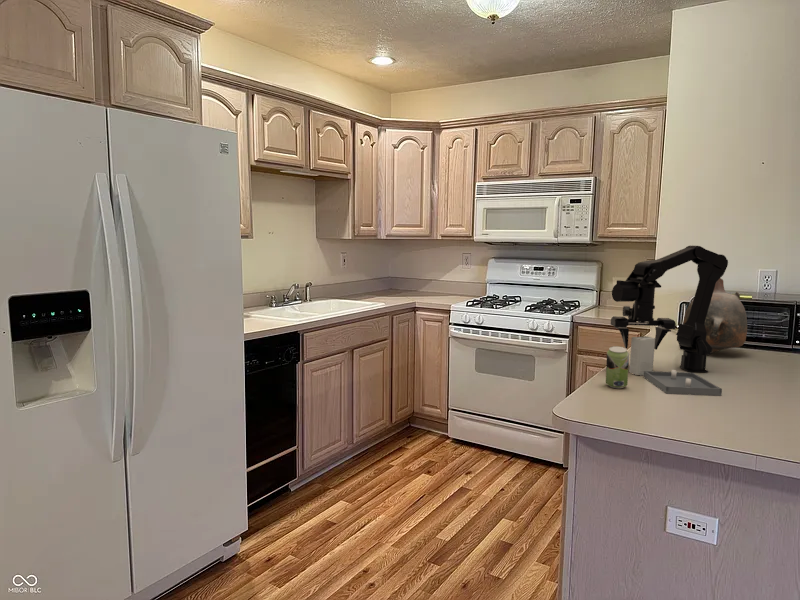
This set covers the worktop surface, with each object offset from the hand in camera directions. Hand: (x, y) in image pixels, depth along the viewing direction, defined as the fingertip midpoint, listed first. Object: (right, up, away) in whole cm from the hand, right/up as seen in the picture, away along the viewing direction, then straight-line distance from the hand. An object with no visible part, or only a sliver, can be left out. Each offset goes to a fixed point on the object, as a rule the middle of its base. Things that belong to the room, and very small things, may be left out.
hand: (640, 348), depth 176 cm
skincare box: (0, -8, 0) cm, 8 cm away
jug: (+43, -5, +34) cm, 55 cm away
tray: (+6, -10, -14) cm, 18 cm away
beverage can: (-15, -10, -16) cm, 24 cm away
